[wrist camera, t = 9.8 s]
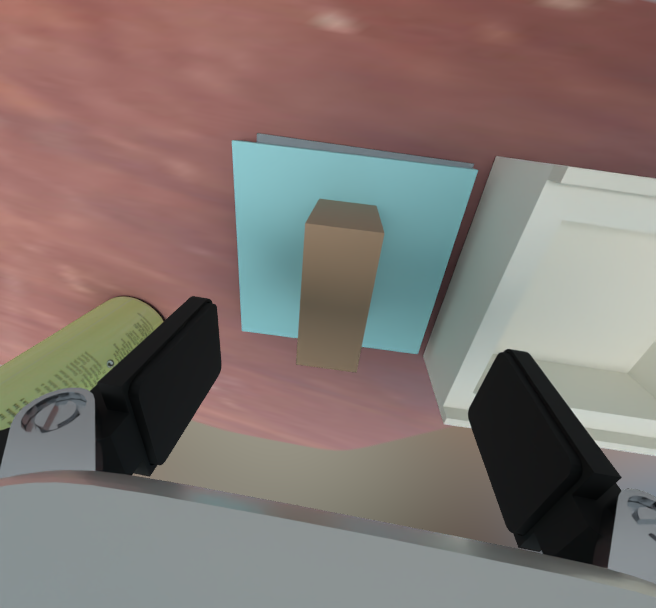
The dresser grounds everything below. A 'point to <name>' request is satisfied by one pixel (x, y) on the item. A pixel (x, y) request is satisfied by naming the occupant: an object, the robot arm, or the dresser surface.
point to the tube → (75, 354)
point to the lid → (342, 247)
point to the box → (557, 297)
